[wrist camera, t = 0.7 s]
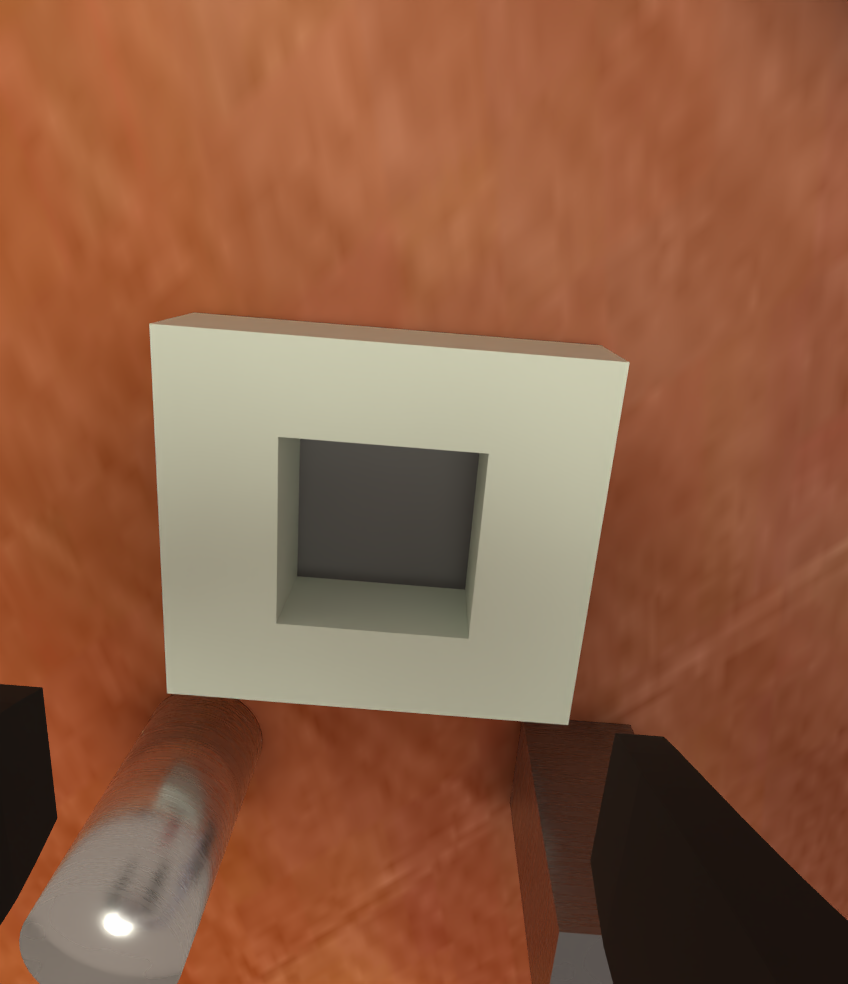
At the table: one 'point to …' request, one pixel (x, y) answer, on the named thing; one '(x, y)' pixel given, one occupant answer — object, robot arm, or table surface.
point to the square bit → (561, 846)
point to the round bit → (147, 851)
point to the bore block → (379, 513)
